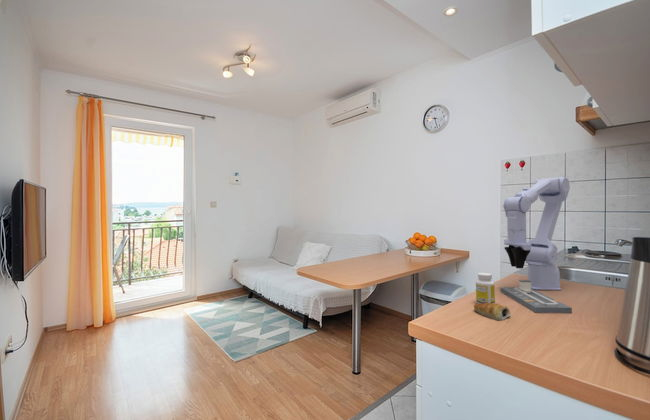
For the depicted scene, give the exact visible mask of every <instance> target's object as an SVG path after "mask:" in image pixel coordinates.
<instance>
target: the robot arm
mask: <svg viewBox="0 0 650 420" xmlns="http://www.w3.org/2000/svg"><path fill="white" fill-rule="evenodd" d="M570 188H571V186H570V180H569V178H567V176H560V177H559V176H558V177H548V178H547V177H545V178H541V177H540V178H538V179H535V181H534V184H533V186H531V187H523V188H522V190H521V191H519V192H517V193H515V195H513V196H509V197H507V198H505V200H504V202H503V210H504V214H505V217H506V219H507V220H506V223H507V225H506V226H507V227H506V228H507V239H504V240H503V244H504V245H505V246H504V250H505V251H506V252H505V253H506V254H507V255H508V258H509V263H510V265H511V267H515V269H524V268H525V267H524V266H525V264H527V280H530V281H531V289H534V290H536V291H539V290H540V291H542V290H543V291H545V290H546V291H547V290H549V291H551V290H554V291H558V290H559V291H561V290H562V288H561V281H560V280H561V273H560V269H559V267H558V266H557V265H556V264H555V263H556V261H557V259H558V247H557V246H556V244H555V243H554V242H553V241H552V238H553V236H554V232H555V229H556V226H557V222H558V218H559V215H560V211H561V208H562V204H563V202H564V201H566V200H567V198H568V195H569V192H570ZM538 198H539V199H540V201H542V202H544V203H545V205H544V208H543V211H542V213H541V217H540V221H539V224H538V227H537V230H536V233H535V237H534V238H532V239H529V240H528V241H527V213H528V212H529V210H530V207H531V206H532V204H534V203H535V202H537V200H538Z"/></svg>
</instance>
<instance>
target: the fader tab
mask: <svg viewBox="0 0 650 420" xmlns="http://www.w3.org/2000/svg"><path fill="white" fill-rule="evenodd" d="M518 284H519V286H518V287H519V289H520V290H521V291H523V292H525V293H531V289H532V288H531V281H530V280H528V279H518Z"/></svg>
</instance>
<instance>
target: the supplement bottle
mask: <svg viewBox="0 0 650 420" xmlns="http://www.w3.org/2000/svg"><path fill="white" fill-rule="evenodd" d="M477 278H478V279H477V280H476V281H475V294H476V295H475V296H476V297H475V298H476V299H475V300H476V304H478V303H496V291H495V286H496V285H495V282H494V281H493V280H492V279H493V275H492V273H489V272H488V273H487V272H478V273H477Z"/></svg>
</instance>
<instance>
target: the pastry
mask: <svg viewBox="0 0 650 420" xmlns="http://www.w3.org/2000/svg"><path fill="white" fill-rule="evenodd" d="M473 309H474V311H475V312H476V313H477V312H478V314H479V315H481V316H482V317H486V318H489V319H491V320H492V319H493V320H495V321H504V320H505V319H507V318H509V317H510V316H511V310H510V308H509V307H508V306H507V305H501V304H500V303H496V302H495V303H476V304H473Z"/></svg>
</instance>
